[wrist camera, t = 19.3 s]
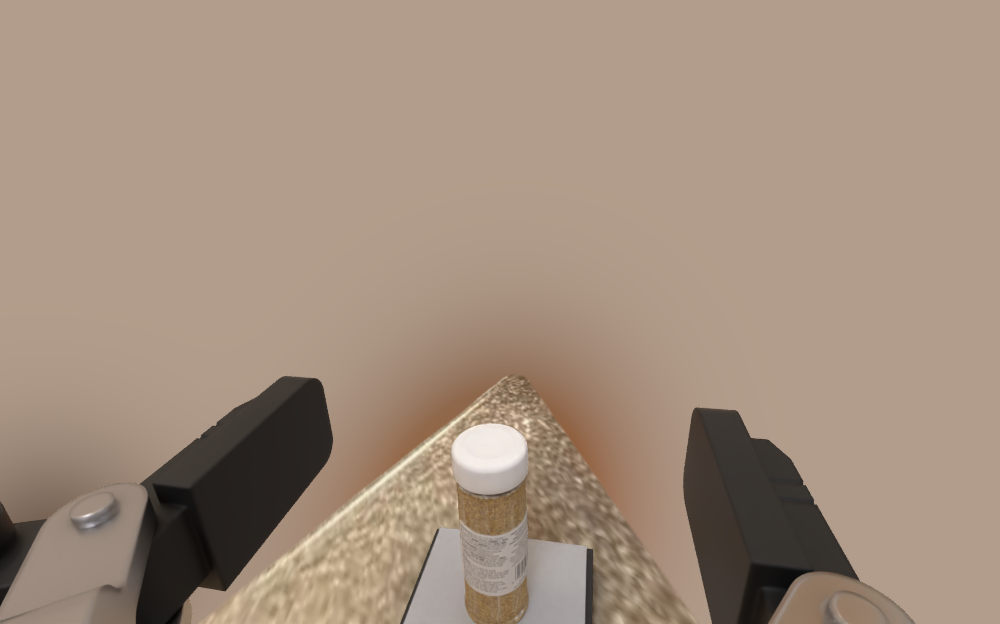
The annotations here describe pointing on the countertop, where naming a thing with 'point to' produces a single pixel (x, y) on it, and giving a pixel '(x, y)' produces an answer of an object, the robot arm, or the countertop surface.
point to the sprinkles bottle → (493, 521)
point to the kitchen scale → (550, 582)
